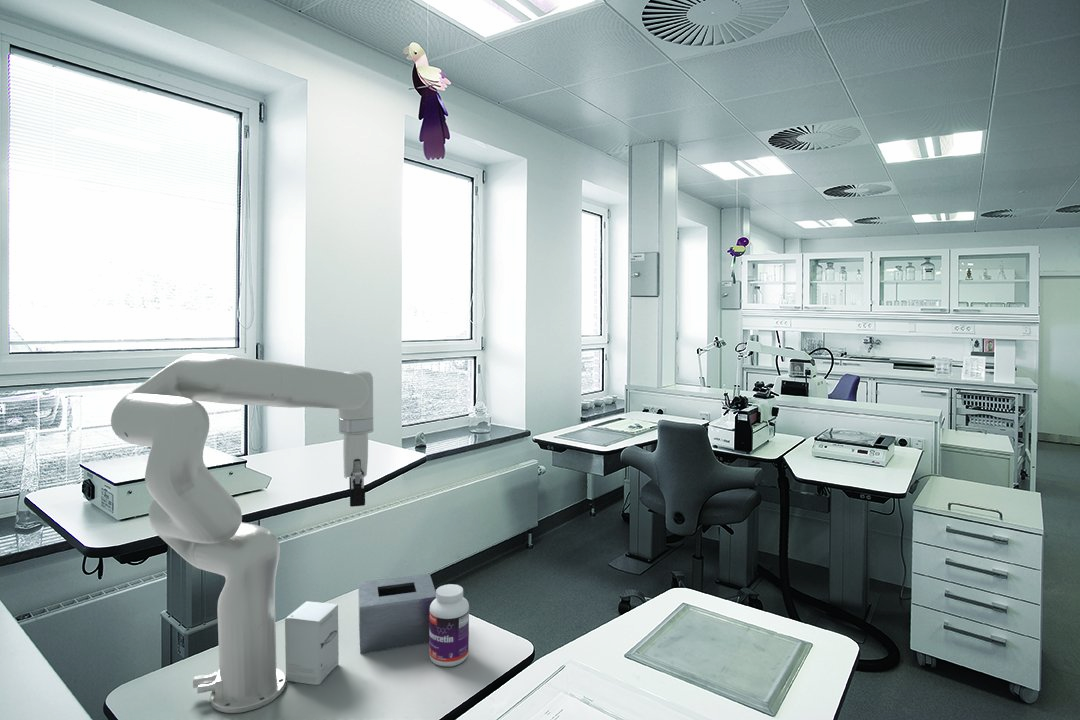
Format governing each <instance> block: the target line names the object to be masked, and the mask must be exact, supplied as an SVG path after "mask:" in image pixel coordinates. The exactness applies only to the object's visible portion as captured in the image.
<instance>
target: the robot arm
mask: <svg viewBox="0 0 1080 720" xmlns="http://www.w3.org/2000/svg"><path fill="white" fill-rule="evenodd" d="M199 402H208V403H218V404H227V405H240V406H241V405H244V406H245V405H247V406H261V407H273V408H274V407H276V408H288V409H289V408H291V409H292V408H293V409H295V408H296V409H298V408H314V409H315V408H316V409H317V408H319V409H320V408H321V409H332V410H333V409H335V410H338V433H339V434H341V435H343V444H342V445H343V447H342V448H343V450H342V451H343V453H342V455H343V458H342V459H343V477H344V479H348V478H349V481H348V482H349V506H350V507H352V508H353V507H363V506H365V505H366V487H365V479H364V478H366V477H367V476H368V474H367V472H368V463H369V461H368V459H369V434H371V433H373V432H374V377H373V374H372V373H371V372H370V371H366V370H348V371H334V370H327V369H320V368H314V367H308V366H303V365H299V364H298V365H296V364H293V363H286V362H285V363H284V362H277V361H270V360H265V359H256V358H250V357H246V356H245V357H243V356H237V355H232V354H231V355H229V354H211V353H191V354H186V355H184V356H182V357H180V358H178V359H176V360H174V361H173V362H171V363H170V364H168V365H167V366H166V367H164V368H163V369H161V370H160V371H158V372H157V373H156V374H154V375H152V376H151V377H150V378H148V379H147V380H146V381H144V382H143V383H141V384H139V386H137V387H136V388H134V389H133V390H131V391H130V392H128V393H127V394H126V395H125V396H123V397H122V398H121V399H120V400H119V401H118V402H117V404H116V406H115V407H114V408H113V410H112V412H111V419H110V425H111V429H112V431H113V432H114V434H115V435H116V437H118V438H119V439H121V440H122V441H124V442H126V443H129V444H132V445H137V446H143V447H151V448H150V451H149V454H148V458H147V463H146V467H145V468H146V469H145V474H144V482H145V483H144V484H145V487H146V489H147V491H148V493H149V494H150V496H151V497H152V500H151V502H150V505H149V508H148V520H149V523H150V526H151V527H152V530H153V531H154V532H155V534H156V535H157V536H158V537H159V538H161V540H163V541H164V542H165V543H166V544H167V545H168V546H169V547H170V548H171V549H173V550H174V551H175V553H177V554H178V555H180V557H182V559H183V560H184V561H186V562H187V563H189V564H190V565H192V566H193V567H194V568H196V569H199V570H203V571H206V572H210V573H214V574H216V575H219V576H223V577H224V578H225V583H224V586H223V588H222V590H221V591H220V594H219V597H218V600H217V632H218V639H217V640H218V659H219V660H218V668H219V669H218V671H213V673H211V674H200V675H195V676H194V677H193V681H192V688H193V689H197V692H196V693H197V694H202V693H207V692H210V696H209V697H210V699H209V700H210V705H211V707H212V708H214V710H216V711H218V712H222V713H225V714H226V713H227V714H239V713H247V712H249V711H253V710H256V709H257V710H258V709H259V708H262V707H264V706H266V705H267V704H270V703H271V702H272V701H274V700H275V699H276V698H278V697H279V696H280V695H281V694H282V693H283V691H284V690H285V688H286V683H287V680H286V673H284V672H283V671H282V670H281V669H279V668H277V634H276V633H277V630H276V629H277V628H276V626H277V625H276V578H277V576H276V575H277V571H278V570H277V569H278V565H279V564H278V563H279V560H280V555H281V553H280V552H281V549H280V547H281V546H280V541H279V539H278V536H276V534H274V532H272V530H269V529H268V528H266V527H264V526H260V525H257V524H253V523H248V522H243V521H242V520H243V514H242V510H241V507H240V505H239V504H238V502H237V501H236V499H235V498H234V496H232V495H231V494H230V492H228V490H227V489H226V488H225V487H224V486H223V485H222V484H221V483H220V482H219V481H218V479H217V478H216V477H215V476H214V475H213V474H212V473H211V472H210V470H209V469H208V468H207V466H206V464H205V463H204V449H205V445H206V441H207V438H208V435H209V431H210V416H209V415H208V412H207V410H206V408H205V406H203V405H202V403H199Z"/></svg>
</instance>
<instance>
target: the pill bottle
mask: <svg viewBox="0 0 1080 720" xmlns="http://www.w3.org/2000/svg"><path fill="white" fill-rule="evenodd" d="M435 591H436V599H435V600H433V601H432V603H431V605H430V627H429V643H428V644H429V646H428V648H429V649H428V650H429V651H428V652H429V653H428V655H429V659H430V661H431V662H433V664H434V665H437V666H439V667H455V666H457V665H459V664H462V663H463V662H464V661H465V660H466V659H467V657H468V656H469V653H470V652H469V651H470V650H469V647H470V646H469V645H470V644H469V642H470V639H469V638H470V631H469V630H470V628H469V627H470V605H469V601H468V599H466V598H465V597H464V588H463V587H462V586H461V585H459V584H453V583H452V584H451V583H448V584H444V585H440V586H439V587H437V589H435Z"/></svg>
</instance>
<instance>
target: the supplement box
mask: <svg viewBox="0 0 1080 720" xmlns="http://www.w3.org/2000/svg"><path fill="white" fill-rule="evenodd" d="M284 635H285V636H284V641H285V642H284V643H285V645H284V647H285V649H284V650H285V652H284V653H285V677H286V682H287V681H288V682H294V683H299V684H300V683H301V684H307V685H313V686H320V685H321V684H322V682H323V681H324V680H325V678H326V677H327V676H328V675H330V673H331V672H332V671H333V670H334V669H335V668H336V667H337V666H338V665H339V663H340V662H339V655H340V654H339V604H335V603H328V602H320V601H308V600H307V601H305V602H304V603H302V604H301V605H300V606H299V607H297V608H296V609H295V610H294V611H292V612H291V613H290V614H289V615H287V617H285V618H284Z"/></svg>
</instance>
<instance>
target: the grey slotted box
mask: <svg viewBox="0 0 1080 720" xmlns="http://www.w3.org/2000/svg"><path fill="white" fill-rule="evenodd" d="M357 585H358V589H357V591H358V635H359V636H358V637H359V638H358V639H359V652H360V653H359V654H366V653H373V652H381V651H385V650H386V651H387V650H390V649H391V650H392V649H396V648H397V649H398V648H404V647H410V646H416V645H417V646H418V645H422V644H429V627H430V605H431V603H432V601H433V600H435V599H436V588H435V586H434V583H433V580H432V577H431V574H430V573H425V574H424V573H423V574H415V575H408V576H402V577H400V576H399V577H392V578H384V579H376V580H368V581H367V580H366V581H361V582H358V584H357Z"/></svg>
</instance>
